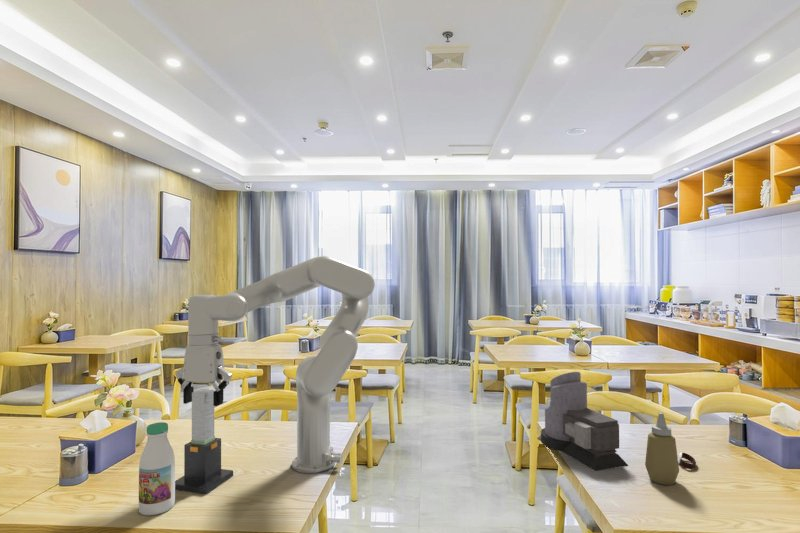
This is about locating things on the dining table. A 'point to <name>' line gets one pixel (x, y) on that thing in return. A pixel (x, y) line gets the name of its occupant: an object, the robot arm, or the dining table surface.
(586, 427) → the grey blocky piece
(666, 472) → the squeeze bottle
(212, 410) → the stand column
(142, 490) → the milk bottle
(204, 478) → the stand base
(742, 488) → the dining table surface
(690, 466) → the watch
